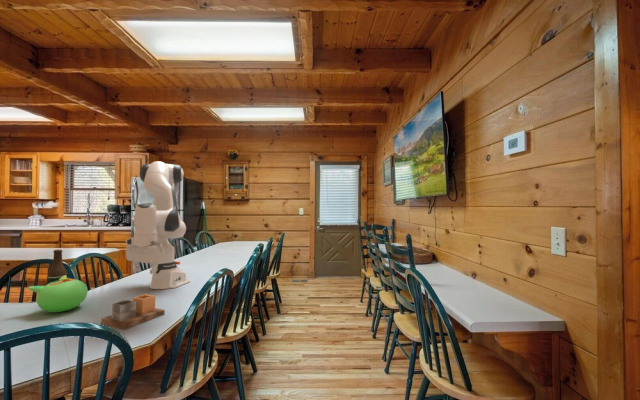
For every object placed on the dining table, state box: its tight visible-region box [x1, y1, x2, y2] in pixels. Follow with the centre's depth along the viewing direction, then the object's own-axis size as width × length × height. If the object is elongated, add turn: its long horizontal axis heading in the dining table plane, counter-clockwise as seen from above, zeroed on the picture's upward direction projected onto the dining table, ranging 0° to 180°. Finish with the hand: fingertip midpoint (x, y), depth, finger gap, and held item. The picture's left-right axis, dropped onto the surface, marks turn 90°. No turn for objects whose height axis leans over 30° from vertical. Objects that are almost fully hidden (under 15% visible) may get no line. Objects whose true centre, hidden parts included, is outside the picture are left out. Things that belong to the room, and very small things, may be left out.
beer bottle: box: [47, 249, 68, 284], centre depth 158 cm, size 8×8×24 cm
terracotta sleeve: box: [132, 293, 156, 314], centre depth 134 cm, size 6×6×6 cm
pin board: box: [100, 299, 165, 330], centre depth 130 cm, size 18×14×8 cm
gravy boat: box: [27, 275, 89, 313], centre depth 139 cm, size 18×17×15 cm
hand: (145, 272), depth 135 cm, fingers open, 8 cm apart
